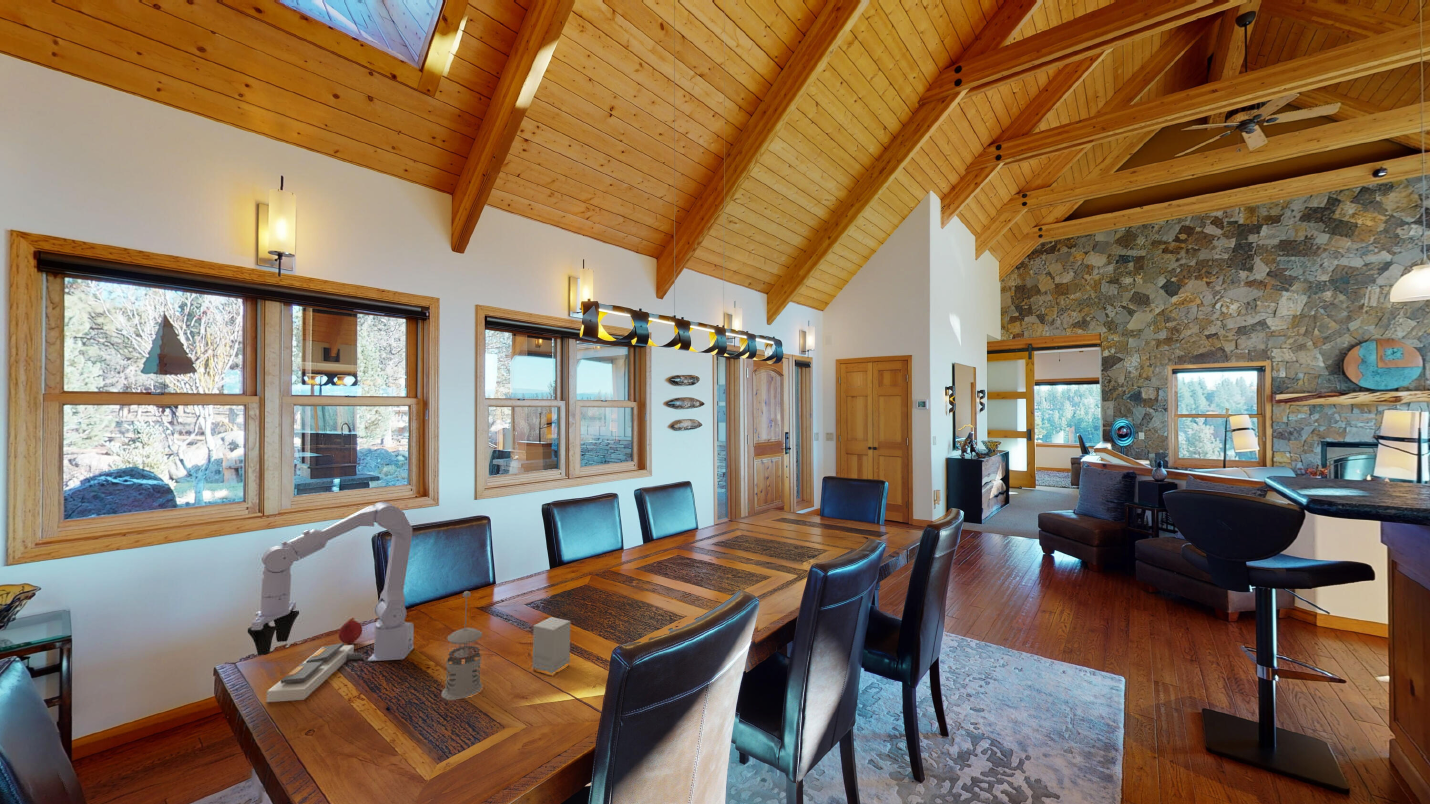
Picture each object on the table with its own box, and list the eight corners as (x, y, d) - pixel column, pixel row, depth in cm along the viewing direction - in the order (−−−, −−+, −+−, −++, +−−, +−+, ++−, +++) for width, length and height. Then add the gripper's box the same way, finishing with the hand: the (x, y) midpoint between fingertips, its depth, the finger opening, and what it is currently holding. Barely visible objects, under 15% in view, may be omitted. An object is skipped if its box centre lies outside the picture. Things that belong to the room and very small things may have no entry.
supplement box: (570, 665, 148) (571, 620, 148) (551, 677, 141) (553, 629, 142) (550, 660, 151) (551, 615, 152) (531, 670, 144) (532, 624, 145)
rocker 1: (323, 664, 138) (323, 660, 138) (303, 681, 130) (303, 677, 130) (301, 666, 137) (301, 662, 137) (280, 683, 129) (280, 679, 129)
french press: (440, 703, 127) (445, 600, 128) (441, 682, 137) (445, 586, 138) (485, 695, 131) (489, 594, 132) (481, 674, 142) (485, 581, 143)
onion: (349, 649, 154) (350, 622, 155) (333, 647, 156) (334, 620, 156) (366, 641, 160) (367, 615, 160) (350, 639, 161) (351, 613, 162)
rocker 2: (344, 645, 149) (343, 641, 149) (327, 659, 140) (326, 656, 140) (324, 649, 148) (324, 646, 148) (306, 664, 139) (305, 660, 139)
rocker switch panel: (366, 653, 152) (367, 644, 153) (320, 698, 128) (320, 687, 128) (322, 655, 150) (322, 646, 150) (266, 702, 126) (266, 691, 126)
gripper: (275, 585, 141) (273, 636, 140) (238, 604, 127) (235, 661, 126) (305, 584, 142) (302, 635, 142) (271, 603, 128) (268, 659, 128)
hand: (273, 647), depth 134 cm, fingers open, 7 cm apart
